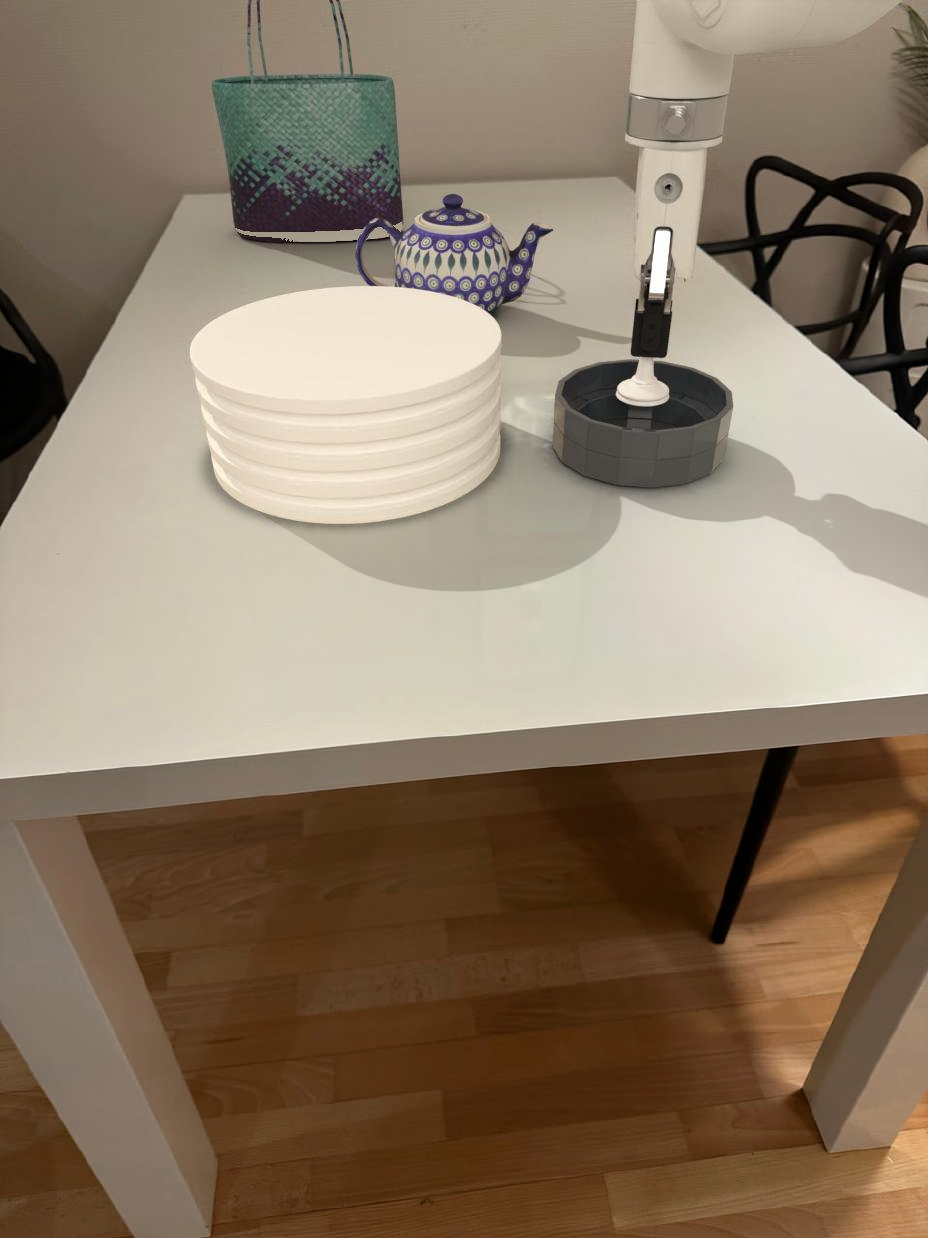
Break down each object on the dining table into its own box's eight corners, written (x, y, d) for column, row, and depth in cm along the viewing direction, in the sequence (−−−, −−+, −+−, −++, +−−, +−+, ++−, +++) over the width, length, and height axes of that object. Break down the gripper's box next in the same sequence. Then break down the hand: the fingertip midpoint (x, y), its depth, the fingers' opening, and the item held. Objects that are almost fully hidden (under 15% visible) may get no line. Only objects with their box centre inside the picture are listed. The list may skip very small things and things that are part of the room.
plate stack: (188, 420, 94) (164, 311, 87) (434, 373, 103) (430, 271, 96) (252, 554, 74) (227, 426, 67) (551, 481, 82) (557, 361, 75)
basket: (407, 223, 154) (392, -69, 130) (401, 243, 145) (383, -69, 120) (244, 225, 155) (199, -66, 131) (227, 244, 146) (175, -65, 121)
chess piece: (606, 398, 83) (615, 288, 77) (631, 380, 86) (643, 274, 80) (653, 411, 81) (667, 299, 75) (678, 393, 84) (693, 284, 78)
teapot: (350, 333, 113) (338, 208, 104) (371, 294, 125) (362, 179, 116) (548, 337, 111) (554, 210, 102) (550, 297, 123) (555, 180, 114)
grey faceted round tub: (719, 420, 92) (728, 364, 88) (725, 499, 80) (737, 438, 76) (562, 410, 95) (565, 355, 91) (544, 485, 82) (547, 424, 78)
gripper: (729, 140, 63) (692, 388, 74) (720, 103, 75) (690, 321, 86) (621, 138, 64) (601, 383, 75) (630, 102, 76) (611, 317, 88)
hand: (648, 348), depth 81 cm, fingers closed on chess piece
